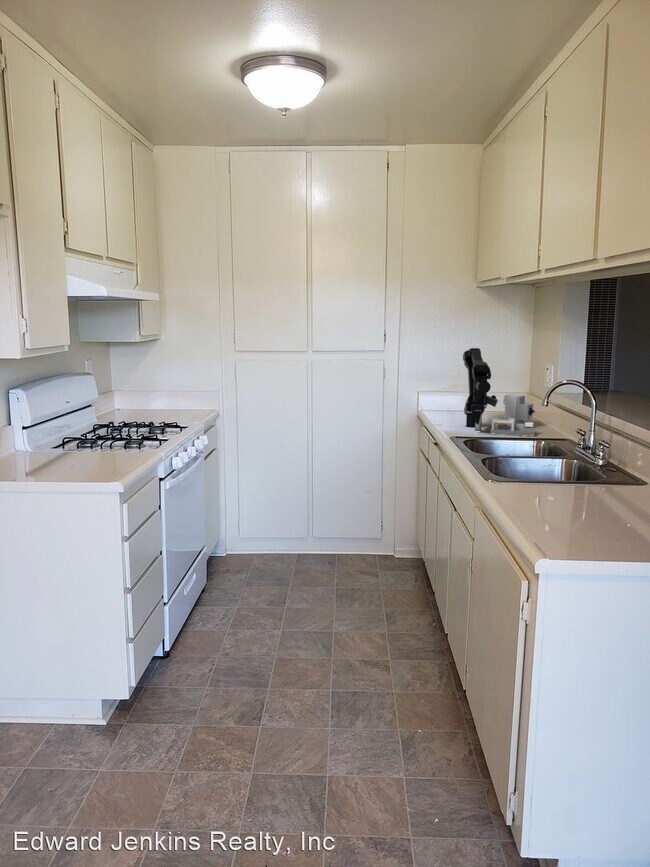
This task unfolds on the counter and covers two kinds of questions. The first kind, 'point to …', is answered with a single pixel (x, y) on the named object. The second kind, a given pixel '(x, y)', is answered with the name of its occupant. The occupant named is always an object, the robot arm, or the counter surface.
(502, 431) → the breaker panel
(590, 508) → the counter surface
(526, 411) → the circuit breaker
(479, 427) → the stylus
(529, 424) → the rocker switch
